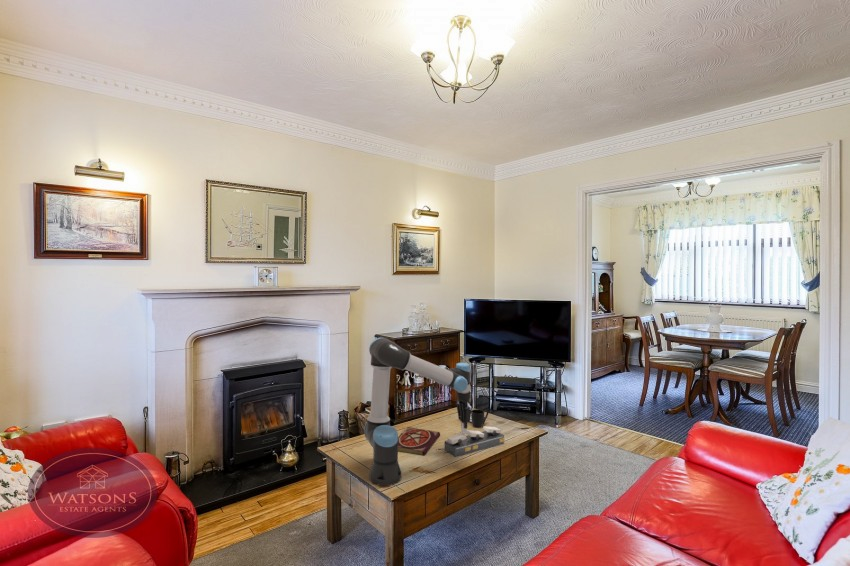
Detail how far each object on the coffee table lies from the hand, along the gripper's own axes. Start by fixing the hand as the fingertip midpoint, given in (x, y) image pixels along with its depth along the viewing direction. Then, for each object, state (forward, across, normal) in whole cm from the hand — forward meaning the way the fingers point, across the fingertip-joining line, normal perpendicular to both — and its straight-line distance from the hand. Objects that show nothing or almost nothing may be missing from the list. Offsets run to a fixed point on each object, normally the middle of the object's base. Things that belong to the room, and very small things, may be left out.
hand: (464, 433), depth 233 cm
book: (+9, +22, +19) cm, 30 cm away
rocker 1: (+4, 0, +5) cm, 6 cm away
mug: (+10, +24, -29) cm, 39 cm away
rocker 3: (+5, 0, -19) cm, 19 cm away
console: (+9, 0, -7) cm, 12 cm away
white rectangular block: (+4, 0, -7) cm, 8 cm away
